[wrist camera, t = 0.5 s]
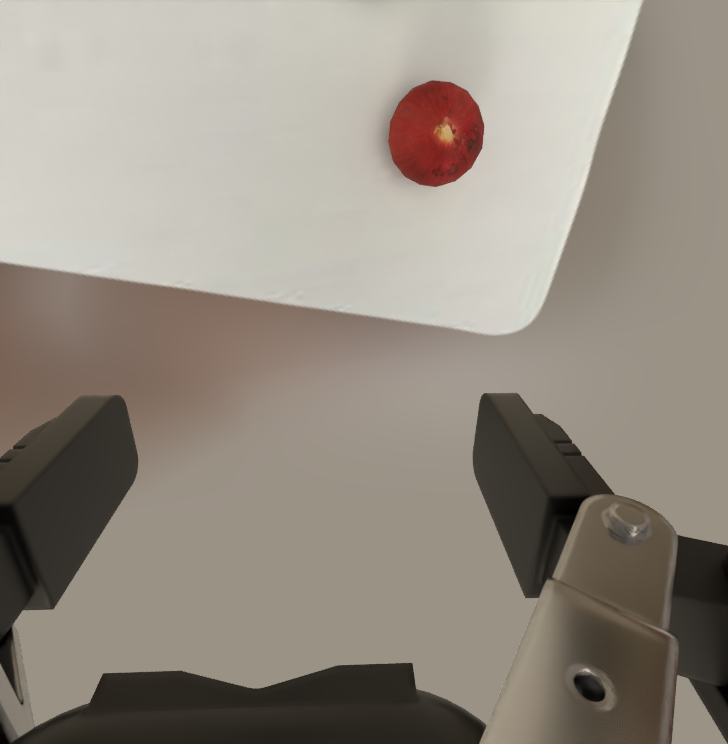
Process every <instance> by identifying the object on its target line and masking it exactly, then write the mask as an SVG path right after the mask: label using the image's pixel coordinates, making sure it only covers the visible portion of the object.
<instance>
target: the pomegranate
mask: <svg viewBox="0 0 728 744" xmlns="http://www.w3.org/2000/svg"><path fill="white" fill-rule="evenodd" d="M483 134H484V123H483V120H482V116H481V113H480V110H479V106H478V105H477V103H476V102H475V101H474V99H473V98H472V97H471V95H470V94H469V93H468V91H466V90H464V89H463V88H461V87H459V86H457V85H455V84H453V83H451V82H442V81H430V82H427V83H425V84H422V85H420V86H417V87H415V88H413V89H412V90H411V91H410V92H409V93H408V94H407V95H406V96H405V97H404V98H403V99H402V100H401V101H400V102H399V104H398V106H397V108H396V110H395V113H394V115H393V117H392V119H391V121H390V131H389V140H388V143H389V147H390V151H391V155H392V159H393V162H394V163H395V165H396V166H397V167H398V168H399V170H400V171H401V172H402V174H403V175H404V176H405V177H407V178H409V179H410V180H412V181H414V182H416V183H418V184H420V185H426V186H433V187H437V186H441V185H444V184H447V183H451V182H454V181H456V180H457V179H458V178H460V177H461V176H462V175H463V174H464V173H466V172H467V171H468V170H469V169H470V168H471V167H472V166H473V164H474V162H475V160H476V158H477V156H478V155H479V153H480V151H481V149H482V144H483Z"/></svg>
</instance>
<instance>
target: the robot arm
mask: <svg viewBox="0 0 728 744" xmlns="http://www.w3.org/2000/svg"><path fill="white" fill-rule="evenodd" d="M473 468H474V474H475V477H476V480H477V482H478V485H479V487H480V490H481V492H482V494H483V497H484V499H485V502H486V504H487V506H488V509H489V511H490V514H491V516H492V519H493V521H494V523H495V526H496V528H497V531H498V533H499V535H500V538H501V540H502V543H503V545H504V547H505V550H506V552H507V555H508V557H509V560H510V562H511V564H512V567H513V569H514V572H515V574H516V577H517V579H518V581H519V584H520V586H521V589H522V591H523V593H524V596H525V598H539V599H538V601H537V604H536V606H535V609H534V611H533V614H532V616H531V618H530V621H529V623H528V626H527V628H526V631H525V633H524V636H523V638H522V641H521V643H520V645H519V648H518V650H517V653H516V655H515V657H514V660H513V662H512V665H511V667H510V670H509V672H508V675H507V677H506V679H505V682H504V684H503V687H502V689H501V692H500V694H499V697H498V699H497V701H496V704H495V706H494V709H493V711H492V714H491V716H490V718H489V721H488V724H487V725H486V724H485V723H484V722H482V721H481V720H480V719H478V718H477V717H475V716H474V715H472V714H471V713H469V712H468V711H466V710H465V709H463V708H462V707H459V706H458V705H456V704H454V703H452V702H450V701H448V700H447V699H444V698H441V697H439V696H436V695H434V694H431V693H429V692H425V691H421V690H417V689H416V686H415V679H414V672H413V665H412V663H396V664H368V665H341V666H335V667H331V668H328V669H325V670H322V671H318V672H315V673H311V674H308V675H305V676H301V677H298V678H295V679H292V680H288V681H285V682H282V683H278V684H275V685H271V686H268V687H265V688H260V689H252V688H247V687H243V686H239V685H235V684H231V683H227V682H223V681H219V680H215V679H211V678H207V677H203V676H199V675H195V674H191V673H187V672H183V671H162V672H134V673H106V674H103V675H102V677H101V679H100V681H99V684H98V686H97V688H96V691H95V693H94V695H93V697H92V699H91V701H90V703H88V704H85V705H82V706H79V707H77V708H74V709H72V710H69V711H67V712H64V713H62V714H60V715H58V716H56V717H54V718H52V719H50V720H48V721H46V722H44V723H42V724H40V725H38V726H36V727H35V724H34V720H33V714H32V709H31V703H30V697H29V692H28V686H27V680H26V674H25V669H24V663H23V657H22V651H21V645H20V639H19V635H18V632H17V629H16V627H15V625H14V622H15V620H16V619H17V618H18V616H19V615H20V613H21V612H22V610H45V609H46V610H48V609H54V608H55V606H56V604H57V603H58V601H59V600H60V598H61V596H62V595H63V593H64V592H65V590H66V589H67V587H68V585H69V584H70V582H71V581H72V579H73V577H74V576H75V574H76V572H77V571H78V570H79V568H80V566H81V565H82V563H83V562H84V560H85V558H86V557H87V555H88V554H89V552H90V551H91V549H92V547H93V546H94V544H95V543H96V541H97V539H98V538H99V536H100V534H101V533H102V531H103V530H104V528H105V527H106V525H107V524H108V522H109V520H110V519H111V517H112V516H113V514H114V513H115V511H116V509H117V508H118V506H119V505H120V503H121V501H122V500H123V498H124V497H125V495H126V493H127V492H128V490H129V489H130V487H131V486H132V484H133V482H134V480H135V478H136V474H137V469H138V455H137V450H136V445H135V441H134V437H133V433H132V428H131V424H130V419H129V415H128V411H127V407H126V403H125V401H124V399H123V398H122V397H121V396H119V395H84V396H80V397H79V398H77V400H75V401H74V402H73V403H72V404H71V405H70V406H69V407H68V408H67V409H66V410H65V411H64V412H63V413H61V414H60V415H59V416H58V417H57V418H54V419H52V420H51V421H48V422H46V423H45V424H43V425H41V426H39V427H37V428H35V429H33V430H31V431H30V432H29V433H28V434H27V435H25V436H24V437H23V438H22V439H21V440H20V441H19V442H18V443H17V444H15V445H14V446H13V449H12V450H9V451H8V452H6V453H5V454H4V455H3V456H2V457H1V458H0V744H671V742H672V730H673V717H674V705H675V704H674V703H675V693H676V680H677V675H680V676H683V677H687V678H688V679H689V680H690V682H691V683H692V685H693V686H694V688H695V690H696V692H697V694H698V695H699V697H700V698H701V700H702V702H703V703H704V705H705V707H706V708H707V710H708V712H709V713H710V715H711V717H712V718H713V720H714V722H715V723H716V725H717V727H718V728H719V730H720V732H721V733H722V735H723V737H724V738H725V740H726V742H727V743H728V546H727V545H722V544H717V543H712V542H707V541H702V540H698V539H692V538H688V537H683V536H679V535H677V534H676V531H675V530H674V528H673V527H672V525H671V524H670V523H669V522H668V521H667V520H666V519H665V518H664V517H663V516H662V515H661V514H659V513H658V512H657V511H655V510H654V509H652V508H650V507H649V506H647V505H645V504H642V503H641V502H638V501H635V500H633V499H630V498H626V497H623V496H618V495H615V494H614V493H613V492H612V490H611V489H610V488H609V486H608V485H607V484H606V483H605V481H604V480H603V479H602V478H601V476H600V475H599V474H598V473H597V472H596V470H595V469H594V468H593V467H592V465H591V464H590V463H589V462H588V460H587V459H586V458H585V457H584V456H582V455H581V452H580V450H579V449H578V448H577V447H576V445H575V444H572V440H571V439H570V438H569V437H568V435H567V434H566V433H565V432H564V430H563V429H562V428H561V427H560V426H559V425H558V424H556V423H554V422H553V421H551V420H550V419H548V418H547V417H545V416H544V415H542V414H533V413H532V412H531V410H530V409H529V408H528V406H527V405H526V403H525V402H524V401H523V400H522V398H521V397H520V395H519V394H517V393H484V394H483V395H482V397H481V400H480V404H479V411H478V419H477V425H476V433H475V441H474V447H473Z"/></svg>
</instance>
